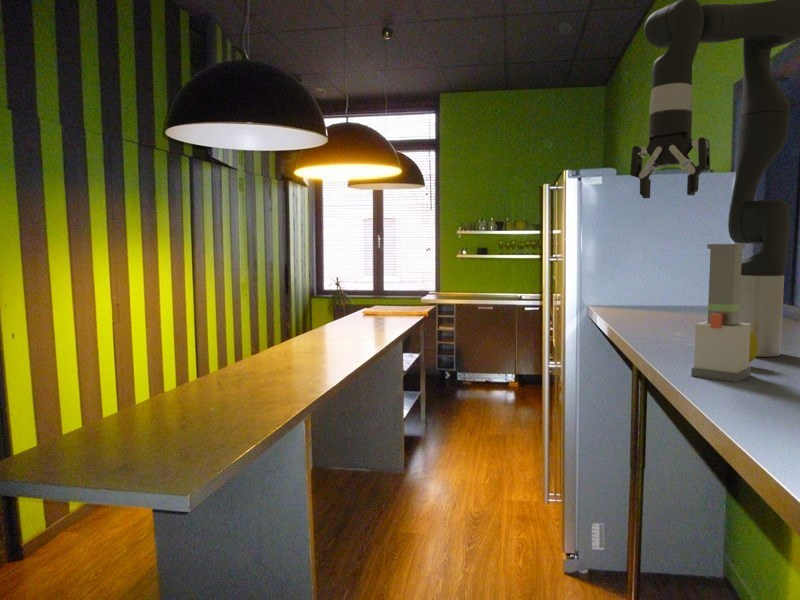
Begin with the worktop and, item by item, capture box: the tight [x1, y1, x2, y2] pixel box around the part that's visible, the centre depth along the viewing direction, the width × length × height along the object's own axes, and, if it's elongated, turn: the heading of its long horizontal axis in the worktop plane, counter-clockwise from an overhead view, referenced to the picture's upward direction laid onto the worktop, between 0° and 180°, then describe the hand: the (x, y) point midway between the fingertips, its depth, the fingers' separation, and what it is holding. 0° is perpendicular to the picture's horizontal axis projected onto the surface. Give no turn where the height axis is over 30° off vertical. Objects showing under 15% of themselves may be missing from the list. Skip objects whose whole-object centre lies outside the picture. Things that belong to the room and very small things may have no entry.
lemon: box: [749, 330, 758, 363], centre depth 117 cm, size 6×6×8 cm
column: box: [706, 243, 746, 326], centre depth 107 cm, size 5×5×17 cm
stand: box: [691, 314, 752, 383], centre depth 108 cm, size 8×8×12 cm
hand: (667, 196), depth 117 cm, fingers open, 8 cm apart
